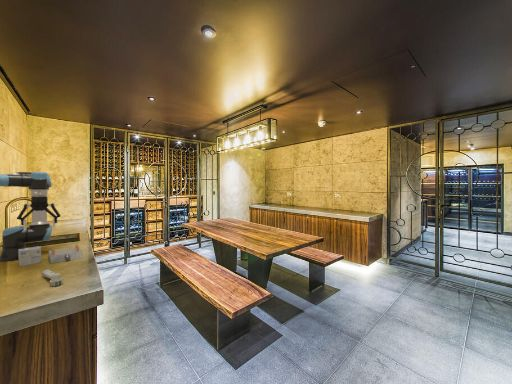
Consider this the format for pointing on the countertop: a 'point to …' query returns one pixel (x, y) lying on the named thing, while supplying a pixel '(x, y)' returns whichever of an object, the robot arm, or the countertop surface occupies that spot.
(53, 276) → the flashlight
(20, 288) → the countertop surface
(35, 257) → the light bulb box
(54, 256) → the orange-striped white panel
